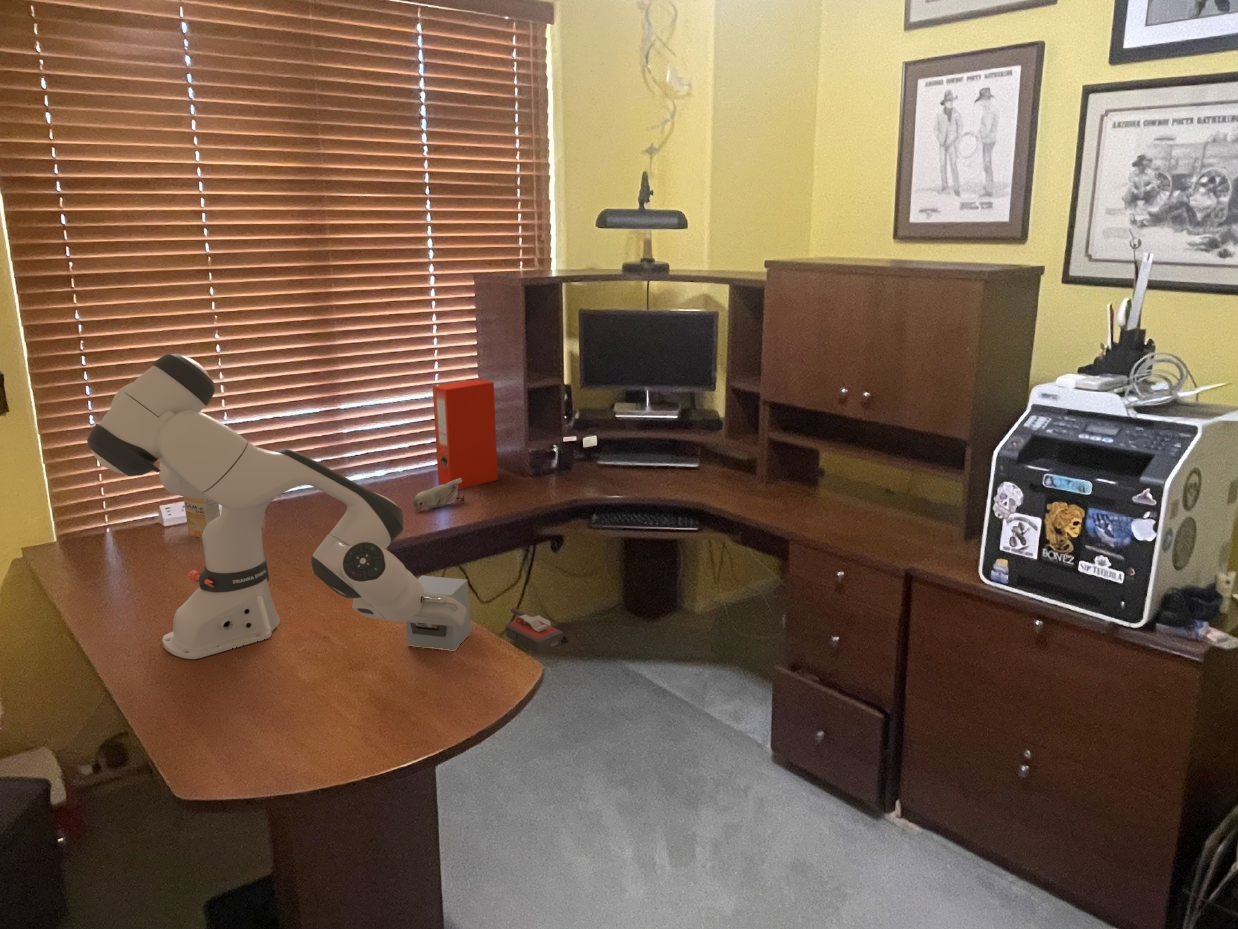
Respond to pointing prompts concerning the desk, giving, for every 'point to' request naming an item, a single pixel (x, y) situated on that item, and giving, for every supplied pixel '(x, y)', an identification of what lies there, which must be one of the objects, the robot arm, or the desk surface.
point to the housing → (443, 634)
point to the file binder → (465, 432)
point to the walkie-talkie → (534, 632)
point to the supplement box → (199, 514)
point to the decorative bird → (437, 495)
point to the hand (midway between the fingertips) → (425, 622)
